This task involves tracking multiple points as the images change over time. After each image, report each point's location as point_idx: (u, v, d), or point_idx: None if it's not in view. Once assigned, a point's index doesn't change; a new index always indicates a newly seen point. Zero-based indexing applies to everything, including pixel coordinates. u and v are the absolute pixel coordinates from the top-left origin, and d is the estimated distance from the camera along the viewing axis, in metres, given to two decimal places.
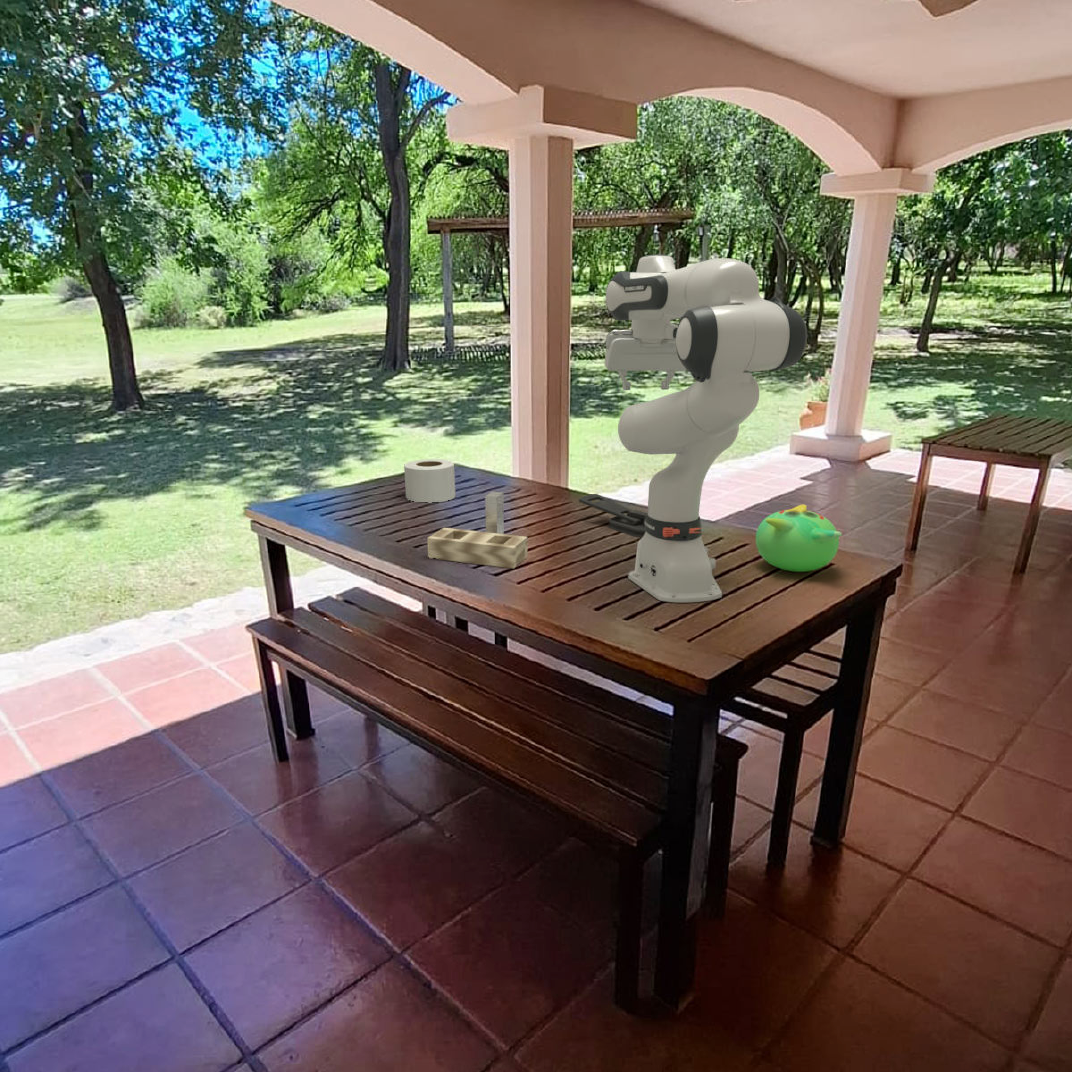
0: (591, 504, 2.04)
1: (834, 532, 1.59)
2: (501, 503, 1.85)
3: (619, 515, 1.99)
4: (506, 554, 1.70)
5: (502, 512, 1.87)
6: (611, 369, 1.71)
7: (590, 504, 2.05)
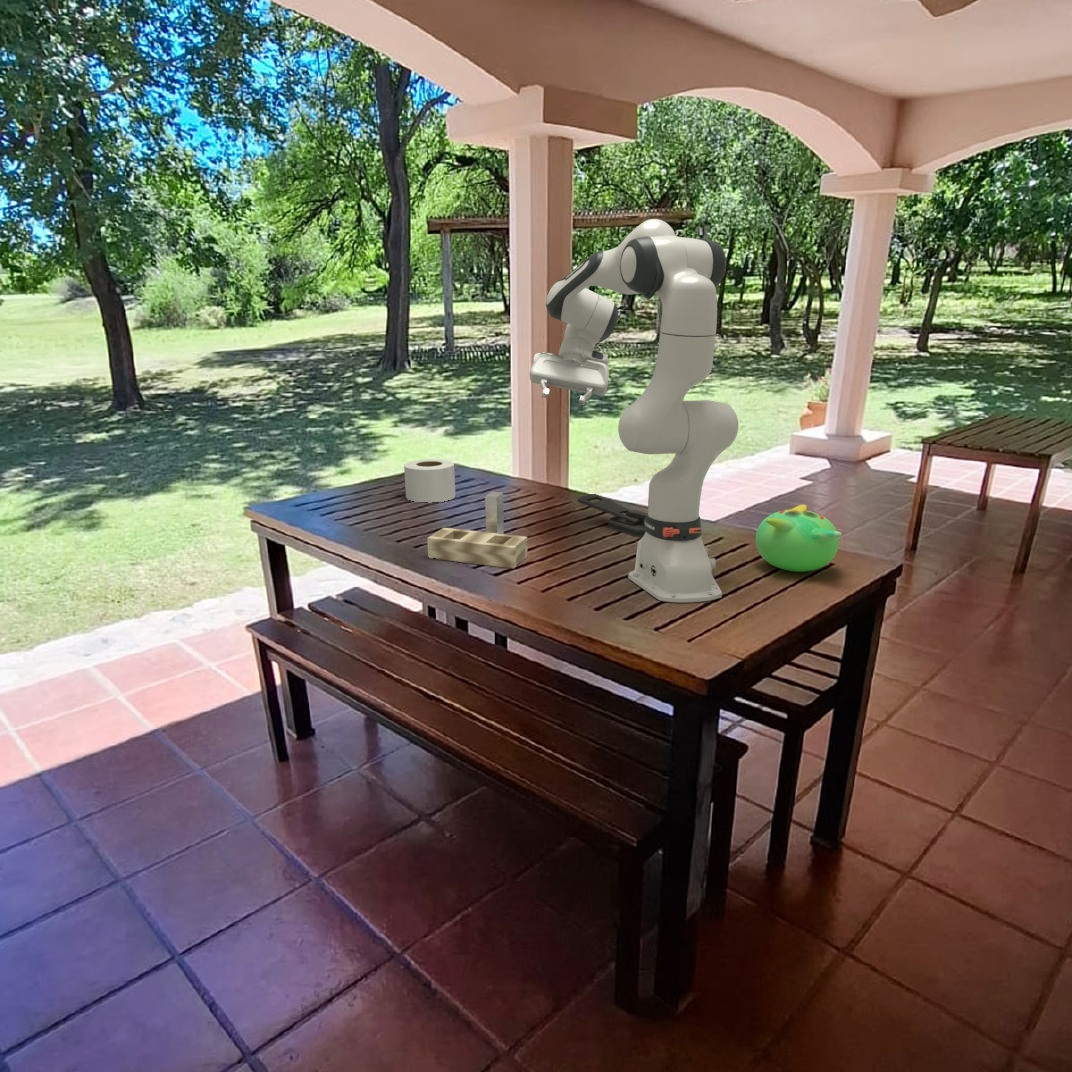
0: (590, 504, 2.04)
1: (834, 532, 1.59)
2: (501, 503, 1.85)
3: (618, 515, 1.99)
4: (506, 554, 1.70)
5: (502, 512, 1.87)
6: (532, 373, 1.88)
7: (589, 504, 2.05)
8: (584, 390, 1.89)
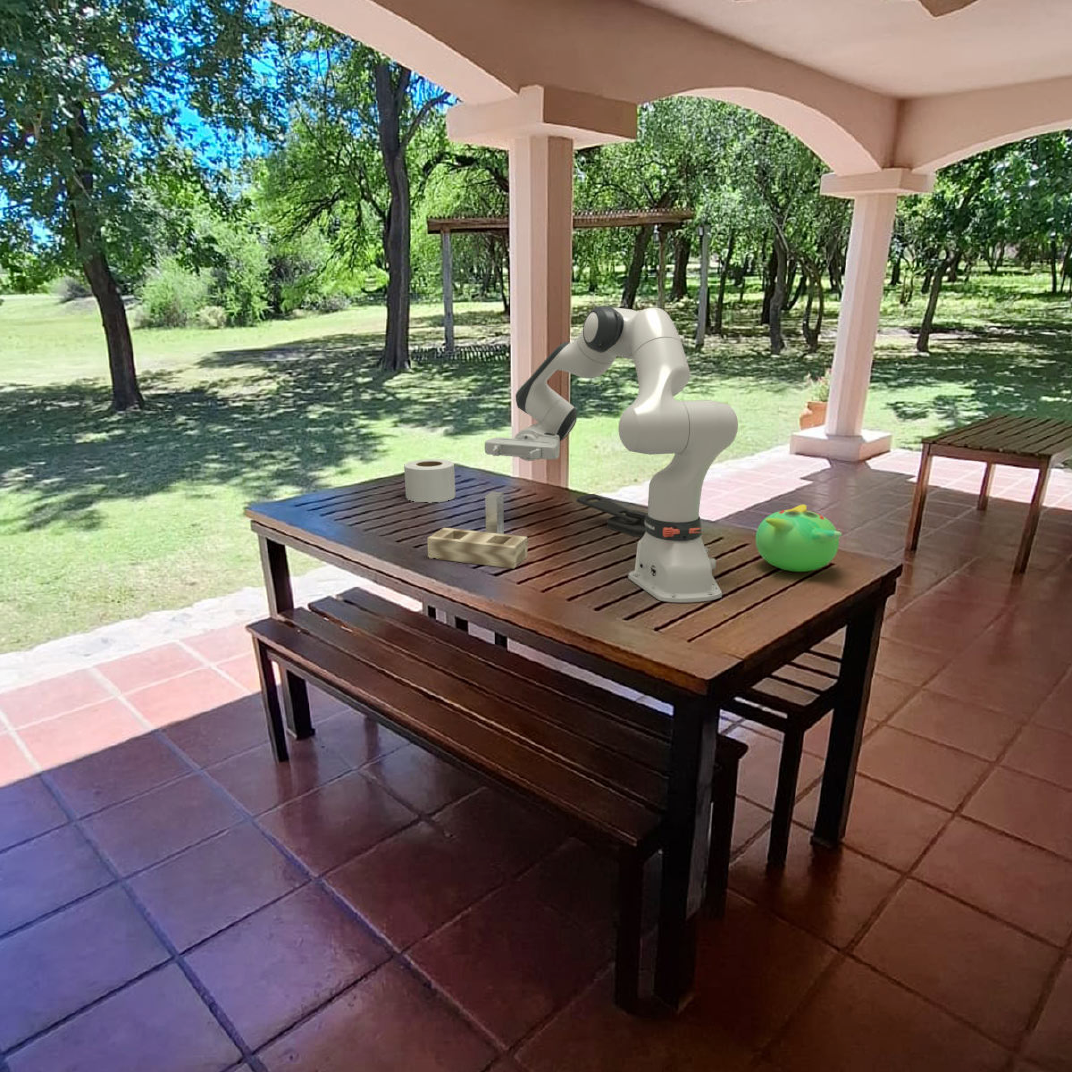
0: (589, 504, 2.04)
1: (834, 532, 1.59)
2: (501, 503, 1.85)
3: (617, 515, 1.99)
4: (506, 554, 1.70)
5: (502, 512, 1.87)
6: (487, 441, 2.00)
7: (588, 504, 2.05)
8: None
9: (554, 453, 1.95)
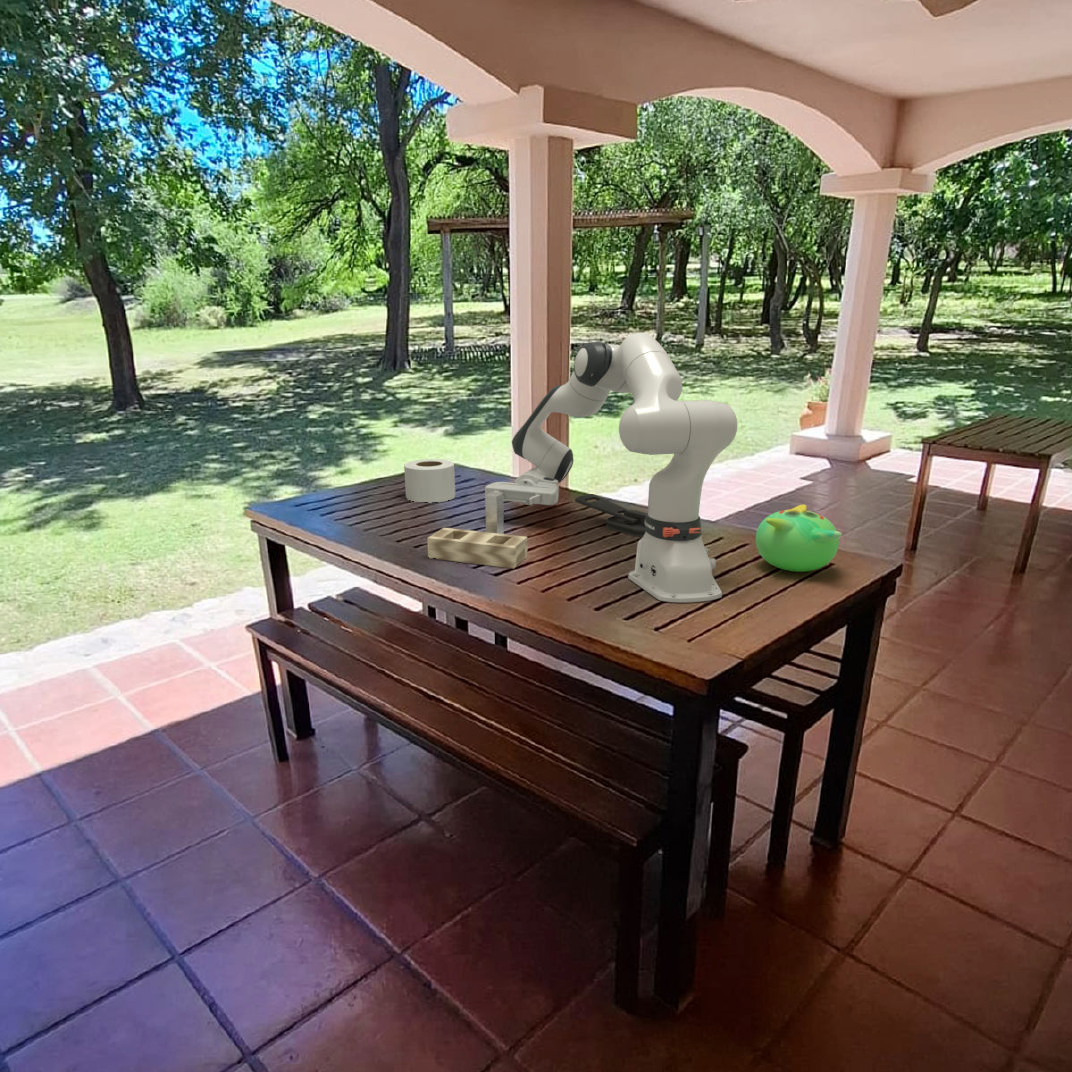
0: (588, 504, 2.04)
1: (834, 532, 1.59)
2: (501, 503, 1.85)
3: (616, 515, 1.99)
4: (506, 554, 1.70)
5: (502, 512, 1.87)
6: (487, 486, 2.04)
7: (587, 504, 2.05)
8: None
9: (553, 499, 1.98)
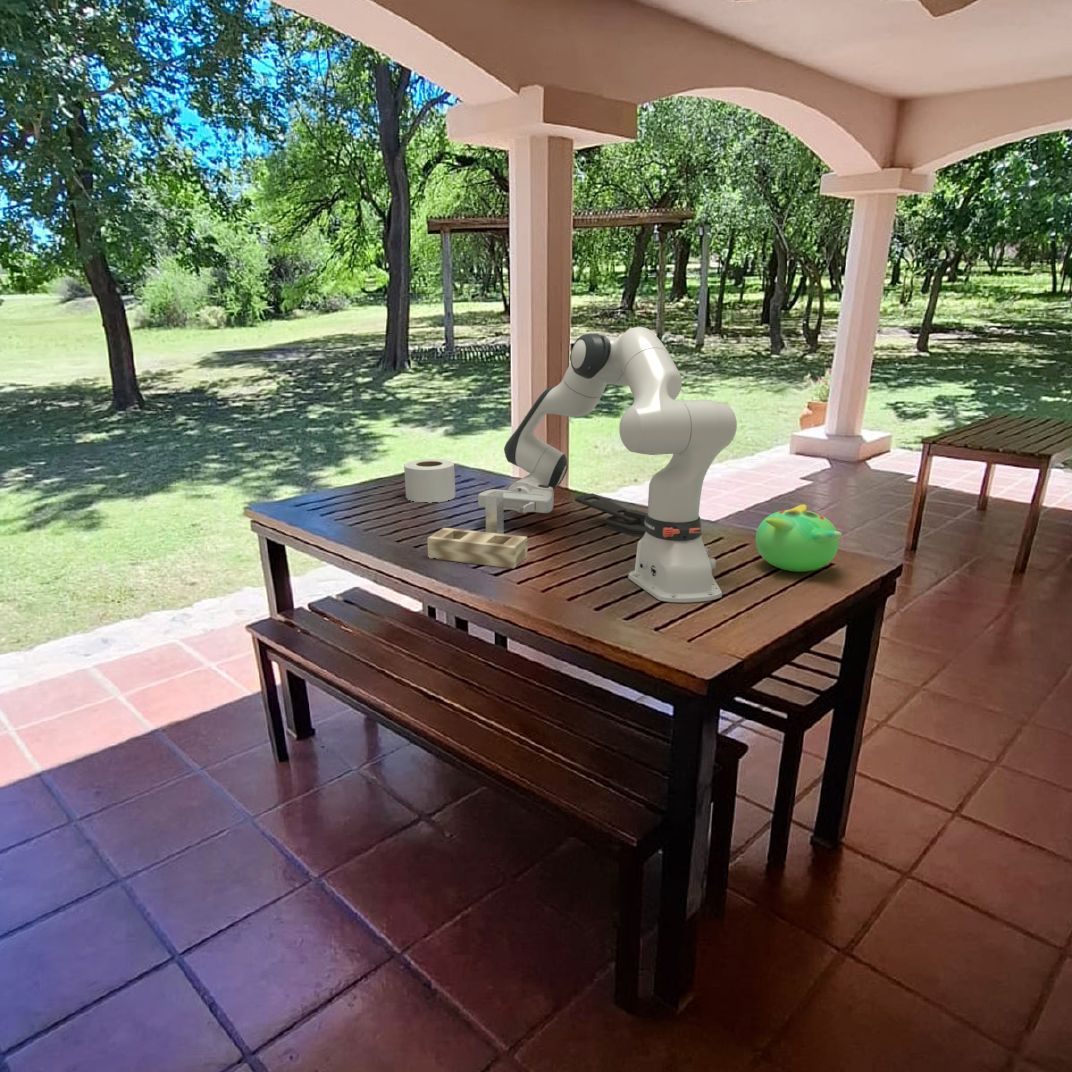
0: (587, 503, 2.05)
1: (834, 532, 1.59)
2: (501, 503, 1.85)
3: (616, 514, 2.00)
4: (506, 554, 1.70)
5: (502, 512, 1.87)
6: (480, 494, 1.99)
7: (586, 503, 2.05)
8: None
9: (548, 506, 1.94)
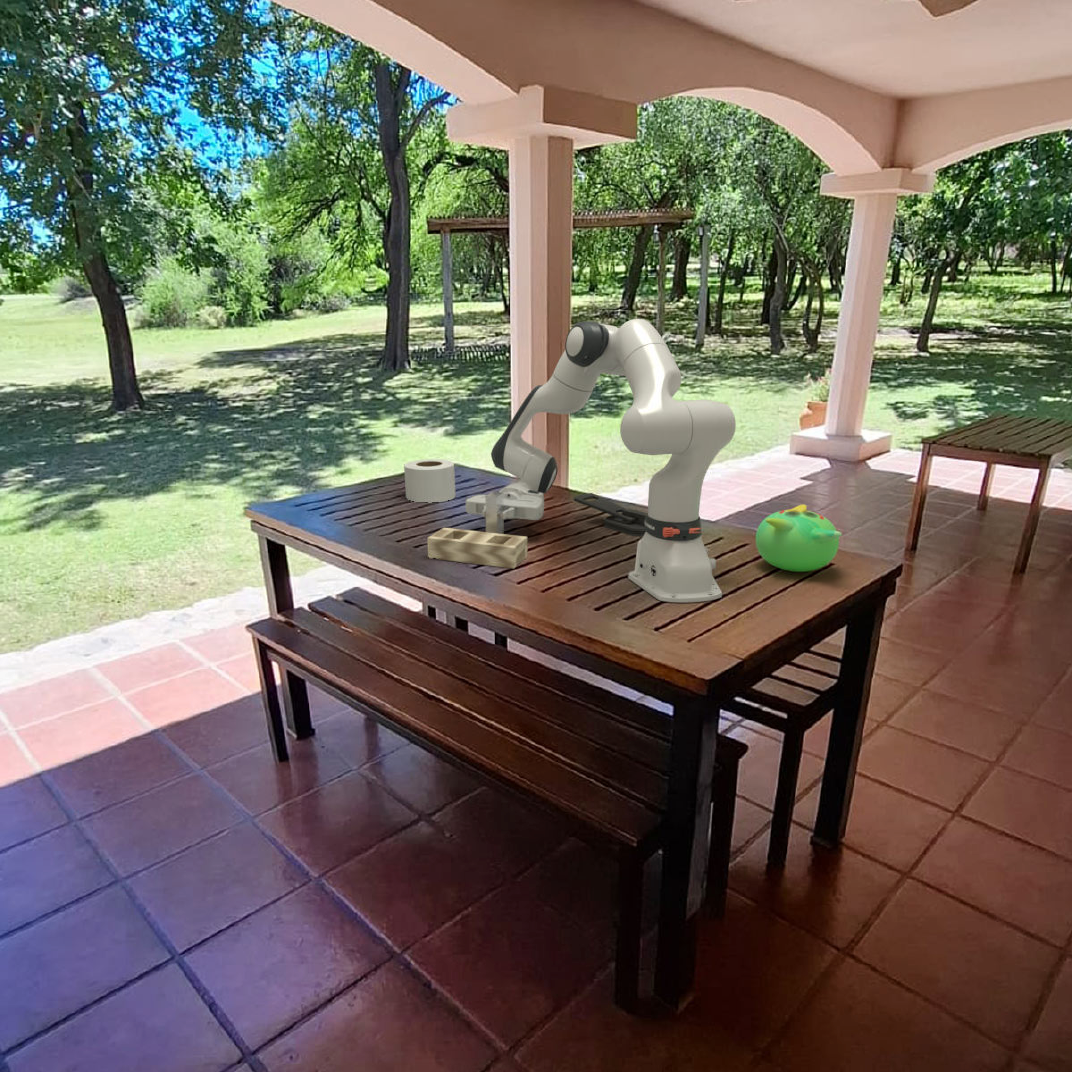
0: (586, 503, 2.05)
1: (834, 532, 1.59)
2: (501, 503, 1.85)
3: (614, 514, 2.00)
4: (506, 554, 1.70)
5: None
6: (468, 500, 1.92)
7: (585, 503, 2.06)
8: (517, 515, 1.89)
9: (537, 513, 1.87)
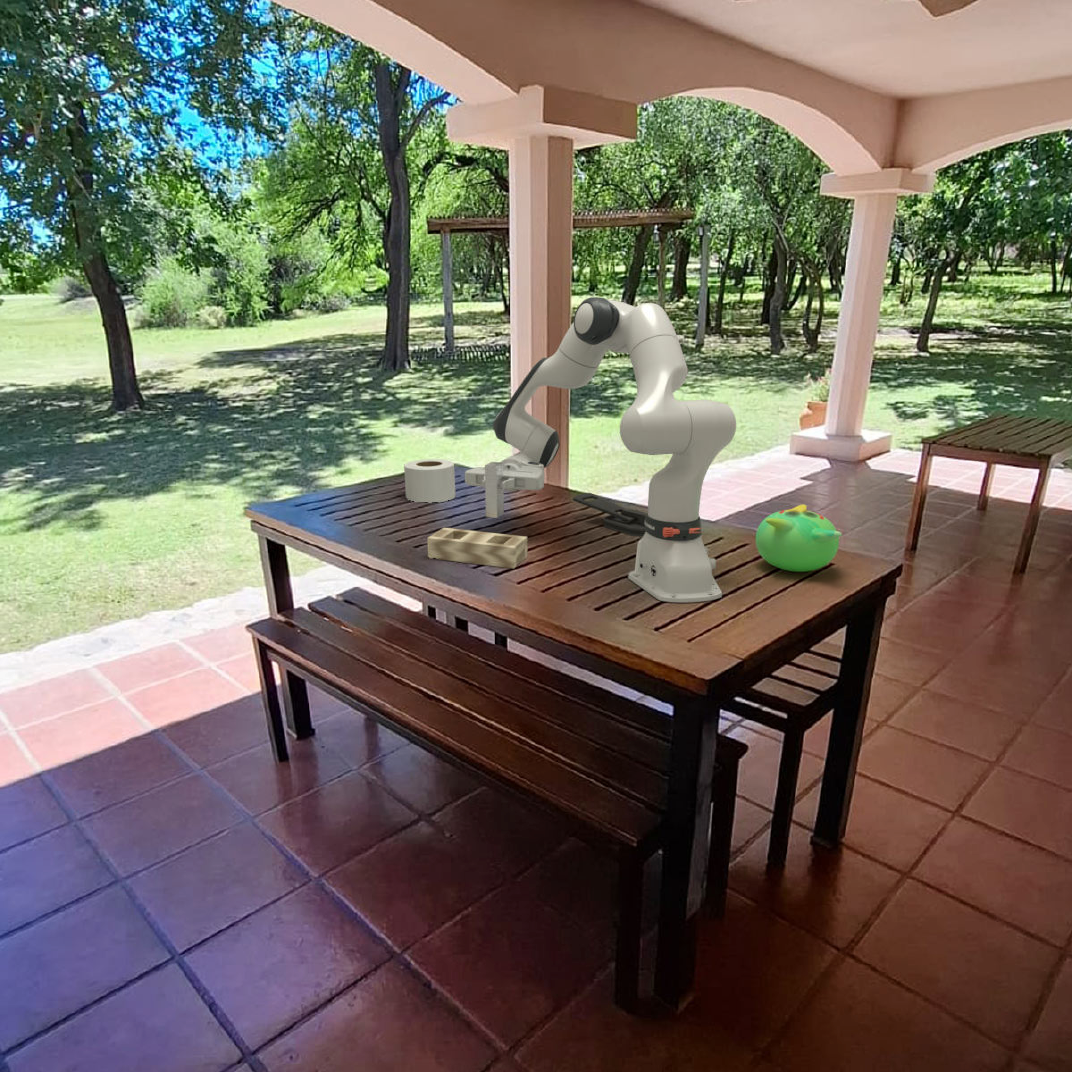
0: (585, 503, 2.06)
1: (834, 532, 1.59)
2: (501, 473, 1.83)
3: (613, 514, 2.00)
4: (506, 554, 1.70)
5: None
6: (467, 471, 1.89)
7: (584, 503, 2.06)
8: (517, 486, 1.86)
9: (538, 483, 1.84)
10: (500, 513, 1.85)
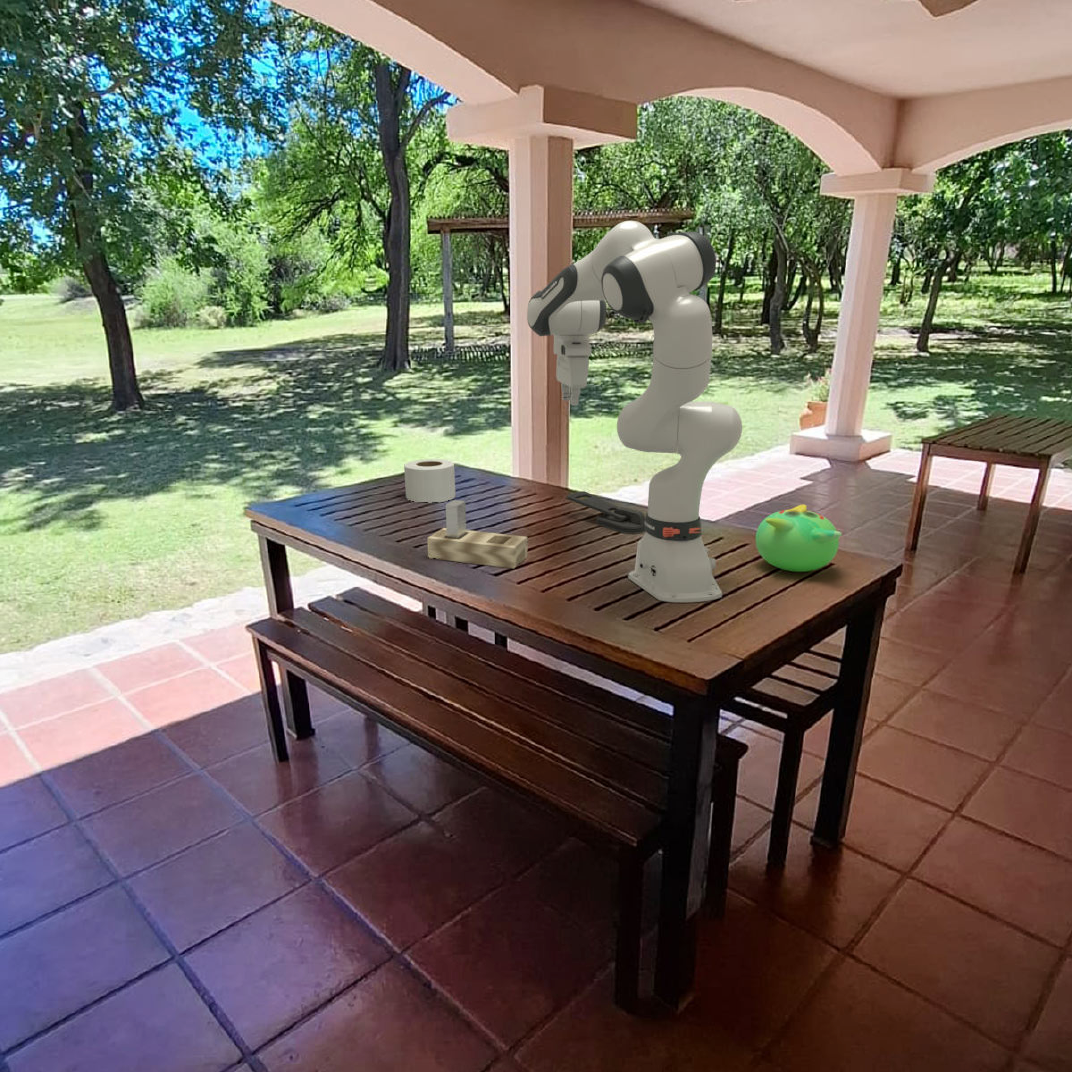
0: (579, 501, 2.07)
1: (834, 532, 1.59)
2: (463, 512, 1.77)
3: (606, 512, 2.02)
4: (506, 554, 1.70)
5: (464, 521, 1.78)
6: None
7: (578, 501, 2.07)
8: None
9: (579, 385, 1.78)
10: None
